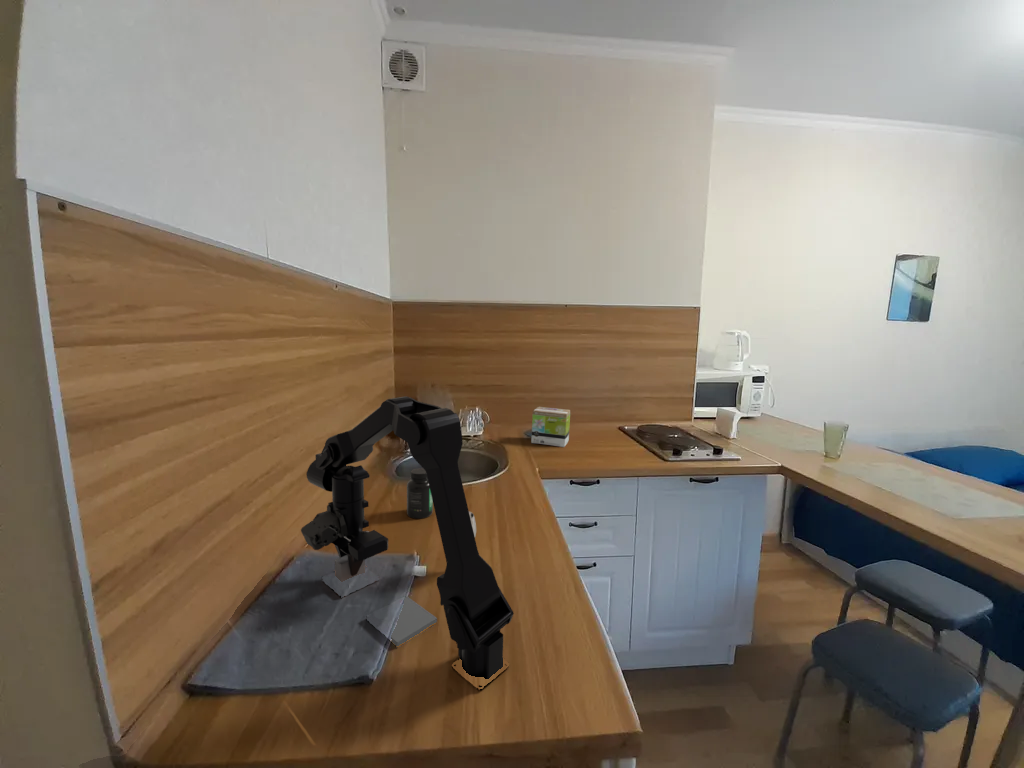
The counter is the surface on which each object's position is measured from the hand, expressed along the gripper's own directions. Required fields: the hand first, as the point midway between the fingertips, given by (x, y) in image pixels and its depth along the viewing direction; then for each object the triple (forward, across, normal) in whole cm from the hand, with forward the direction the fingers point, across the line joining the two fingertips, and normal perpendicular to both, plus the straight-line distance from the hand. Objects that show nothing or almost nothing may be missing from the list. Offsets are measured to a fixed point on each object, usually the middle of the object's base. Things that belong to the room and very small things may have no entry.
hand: (350, 572), depth 87 cm
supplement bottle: (+2, -16, +28) cm, 33 cm away
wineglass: (+2, +12, +18) cm, 22 cm away
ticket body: (+2, +17, 0) cm, 18 cm away
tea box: (+2, -34, +112) cm, 116 cm away
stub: (+2, 0, 0) cm, 2 cm away
